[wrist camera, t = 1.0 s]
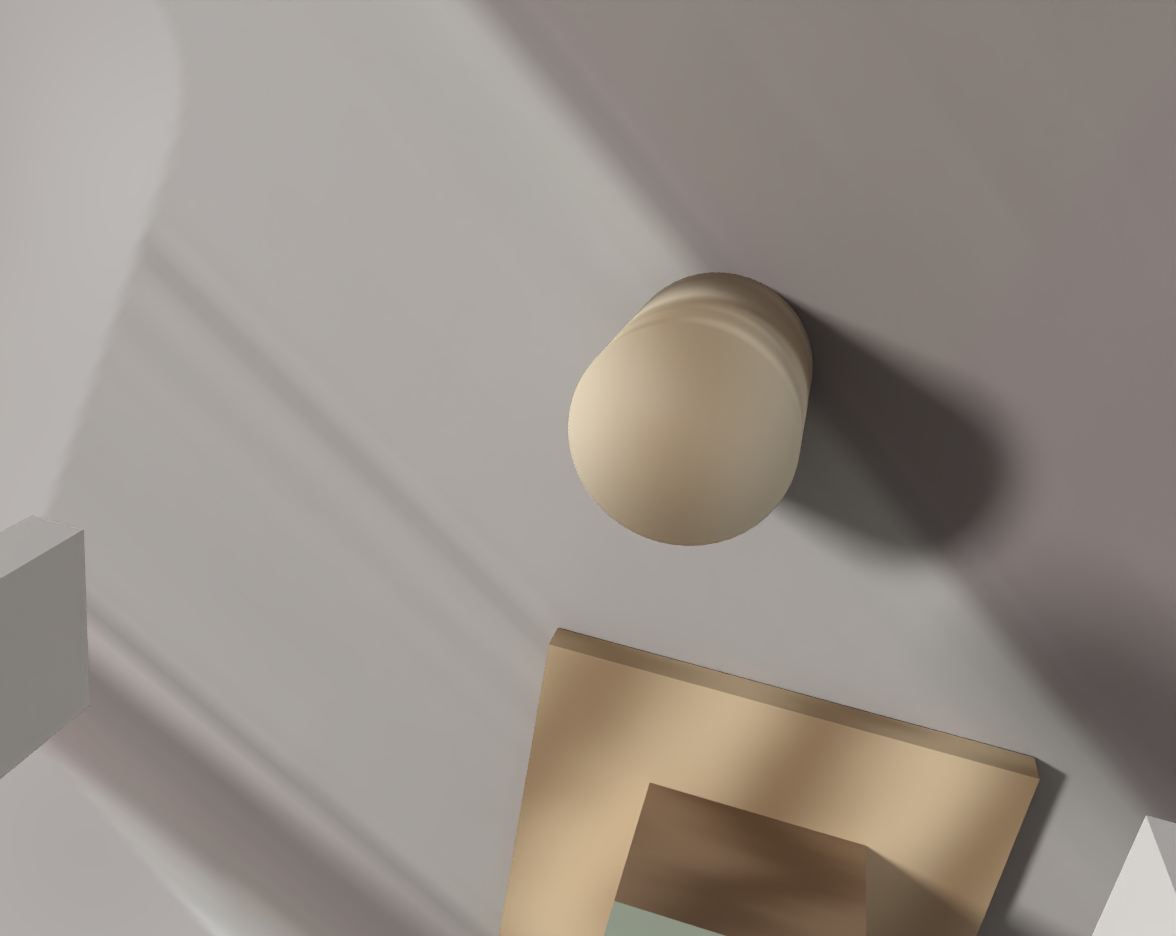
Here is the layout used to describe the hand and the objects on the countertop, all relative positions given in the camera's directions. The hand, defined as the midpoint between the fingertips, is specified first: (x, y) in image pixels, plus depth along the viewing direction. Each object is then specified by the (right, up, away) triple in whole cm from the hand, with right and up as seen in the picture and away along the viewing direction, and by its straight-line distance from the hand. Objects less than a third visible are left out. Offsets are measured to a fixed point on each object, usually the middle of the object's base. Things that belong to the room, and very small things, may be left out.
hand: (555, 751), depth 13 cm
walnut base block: (+5, -10, +20) cm, 23 cm away
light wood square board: (+5, -9, +21) cm, 23 cm away
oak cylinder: (+4, +6, +15) cm, 17 cm away
